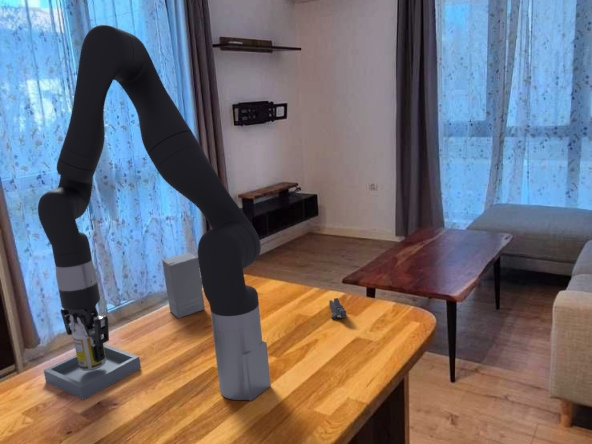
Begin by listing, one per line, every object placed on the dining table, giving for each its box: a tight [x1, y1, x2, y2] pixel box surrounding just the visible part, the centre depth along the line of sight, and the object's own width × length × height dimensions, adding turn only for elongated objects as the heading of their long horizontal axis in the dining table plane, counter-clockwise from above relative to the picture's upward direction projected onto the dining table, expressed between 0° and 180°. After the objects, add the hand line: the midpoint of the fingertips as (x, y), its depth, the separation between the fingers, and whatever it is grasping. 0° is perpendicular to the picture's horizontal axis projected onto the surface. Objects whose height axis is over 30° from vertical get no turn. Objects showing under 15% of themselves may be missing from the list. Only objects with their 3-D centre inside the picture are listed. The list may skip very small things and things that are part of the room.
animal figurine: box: [328, 297, 348, 321], centre depth 131 cm, size 12×4×5 cm, turn 12°
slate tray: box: [43, 343, 142, 401], centre depth 111 cm, size 14×14×3 cm
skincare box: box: [161, 252, 206, 319], centre depth 140 cm, size 8×7×16 cm
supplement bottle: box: [72, 322, 106, 371], centre depth 109 cm, size 6×6×10 cm
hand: (91, 356), depth 110 cm, fingers closed on supplement bottle, 5 cm apart
